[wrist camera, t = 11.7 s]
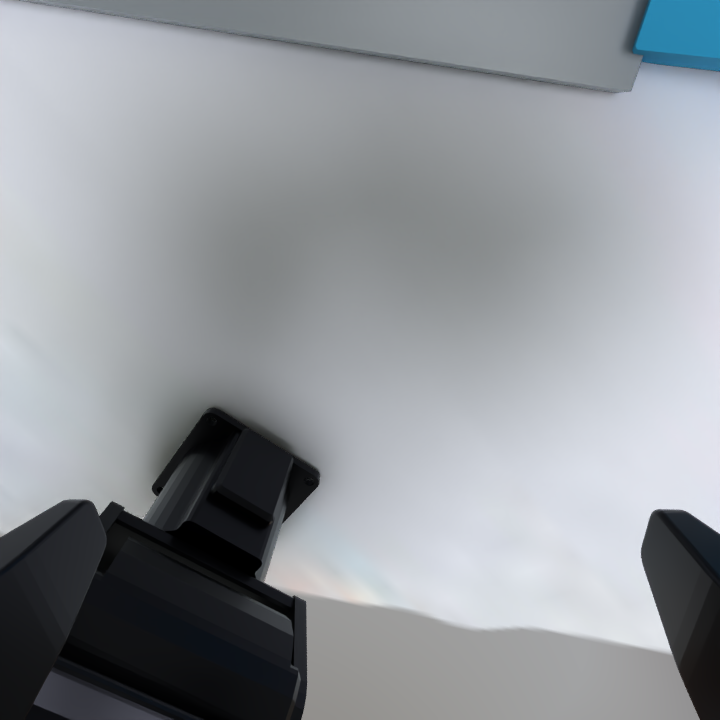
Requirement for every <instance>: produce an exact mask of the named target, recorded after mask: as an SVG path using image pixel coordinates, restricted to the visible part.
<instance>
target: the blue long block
mask: <svg viewBox="0 0 720 720" xmlns="http://www.w3.org/2000/svg"><path fill="white" fill-rule="evenodd" d="M632 51H633V54H638V55H643V58H642V61H641V62H647V63H654V64H660V65H669V66H678V67H687V68H696V69H705V70H714V71H720V0H649V1H648V4H647V7H646V10H645V13H644V16H643V19H642V22H641V25H640V28H639V31H638V34H637V37H636V40H635V42H634V45H633V48H632Z"/></svg>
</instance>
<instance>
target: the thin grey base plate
mask: <svg viewBox="0 0 720 720" xmlns="http://www.w3.org/2000/svg"><path fill="white" fill-rule="evenodd" d="M20 1H26V2H33V3H39V4H45V5H52V6H58V7H65V8H71V9H78V10H84V11H91V12H97V13H104V14H110V15H117V16H123V17H129V18H136V19H142V20H149V21H155V22H162V23H168V24H175V25H181V26H188V27H194V28H201V29H207V30H213V31H220V32H226V33H233V34H239V35H246V36H252V37H259V38H265V39H272V40H278V41H285V42H291V43H297V44H304V45H310V46H317V47H323V48H330V49H336V50H343V51H349V52H356V53H362V54H369V55H375V56H381V57H388V58H394V59H401V60H407V61H414V62H420V63H427V64H433V65H440V66H446V67H453V68H459V69H465V70H472V71H478V72H485V73H491V74H498V75H504V76H511V77H517V78H524V79H530V80H537V81H543V82H549V83H556V84H562V85H569V86H575V87H582V88H588V89H595V90H601V91H608V92H614V93H619V92H630V91H631V90H632V87H633V84H634V81H635V78H636V76H637V73H638V70H639V67H640V64H641V61H642V58H643V55H638V54H633V51H632V48H633V45H634V42H635V40H636V37H637V34H638V31H639V28H640V25H641V22H642V19H643V16H644V13H645V10H646V7H647V4H648V1H649V0H20Z"/></svg>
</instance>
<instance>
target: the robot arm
mask: <svg viewBox="0 0 720 720" xmlns="http://www.w3.org/2000/svg"><path fill="white" fill-rule="evenodd" d="M210 417H213V418H215V419H216V420H217V421H212V420H211V419H210ZM307 478H311V479H313V480H308V479H307ZM319 482H320V474H319V473H318V472H317V471H316V470H315V469H313V468H311V467H310V466H308V465H307V464H305V463H304V462H302V461H300V460H299V459H297V458H296V457H294V456H292V455H291V454H289V453H288V452H286V451H284V450H283V449H281V448H280V447H278V446H276V445H275V444H273V443H272V442H270V441H268V440H267V439H265V438H264V437H262V436H260V435H259V434H257V433H256V432H254V431H252V430H251V429H249V428H248V427H246V426H244V425H243V424H241V423H240V422H238V421H237V420H235V419H233V418H232V417H230V416H229V415H227V414H225V413H224V412H222V411H221V410H219V409H216V408H210V409H208V410H207V411H206V412H205V413H204V414H203V416H202V417H201V419H200V420H199V421H198V423H197V424H196V426H195V427H194V428H193V430H192V431H191V433H190V434H189V435H188V437H187V438H186V440H185V441H184V442H183V444H182V445H181V447H180V448H179V449H178V451H177V452H176V454H175V455H174V456H173V458H172V459H171V461H170V462H169V463H168V465H167V466H166V468H165V469H164V470H163V472H162V473H161V475H160V476H159V477H158V479H157V480H156V482H155V483H154V485H153V486H152V491H153V493H154V494H155V495H157V496H158V497H157V499H156V500H155V502H154V503H153V505H152V507H151V508H150V510H149V511H148V513H147V514H146V516H145V517H144V519H143V520H142V519H140V518H138V517H136V516H134V515H132V514H130V513H128V512H126V511H124V507H122V506H121V505H119V504H117V503H115V502H113V501H112V502H111V503H110V504H109V505H108V506H107V508H106V509H105V510H104V511H103V512H102V514H101V515H100V516H99V515H98V512H97V510H96V507H95V505H94V504H93V503H92V502H91V501H89V500H76V499H69V500H64V501H62V502H60V503H58V504H57V505H55V506H53V507H52V508H50V509H48V510H46V511H45V512H43V513H41V514H40V515H38V516H36V517H34V518H33V519H31V520H29V521H28V522H26V523H24V524H22V525H21V526H19V527H17V528H16V529H14V530H12V531H10V532H9V533H7V534H5V535H4V536H2V537H0V720H301V718H302V714H303V710H304V705H305V699H306V690H307V645H306V644H307V643H306V642H307V641H306V640H307V637H306V601H304V600H302V599H300V598H298V597H296V596H293V597H291V596H289V595H287V594H285V593H283V592H281V591H279V590H277V589H275V588H274V587H272V586H270V585H268V584H266V583H264V581H265V578H266V574H267V571H268V568H269V564H270V561H271V558H272V555H273V551H274V548H275V545H276V541H277V538H278V535H279V531H280V528H281V525H282V523H283V522H284V521H285V520H286V519H287V518H288V517H289V516H290V515H291V514H292V513H293V512H294V511H295V510H296V509H297V508H298V507H299V506H300V505H301V504H302V503H303V501H304V500H305V499H306V498H307V497H308V496H309V495H310V494H311V493H312V492H313V491H314V490H315V489H316V488H317V487H318V485H319ZM162 487H164V488H162ZM641 558H642V563H643V567H644V570H645V573H646V576H647V579H648V582H649V585H650V588H651V591H652V594H653V597H654V600H655V603H656V606H657V609H658V612H659V615H660V618H661V621H662V624H663V627H664V630H665V633H666V636H667V639H668V642H669V645H670V648H671V651H672V654H673V657H674V660H675V662H676V665H677V668H678V670H679V673H680V675H681V677H682V680H683V682H684V685H685V687H686V689H687V692H688V693H689V696H690V698H691V700H692V703H693V705H694V707H695V710H696V711H697V714H698V716H699V718H700V720H720V534H719V533H718V532H716V531H715V530H713V529H712V528H710V527H709V526H707V525H706V524H704V523H703V522H701V521H700V520H699V519H697V518H696V517H694V516H693V515H691V514H690V513H688V512H686V511H683V510H668V509H658V510H655V511H653V513H652V514H651V516H650V519H649V522H648V526H647V529H646V533H645V536H644V540H643V543H642V548H641Z"/></svg>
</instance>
